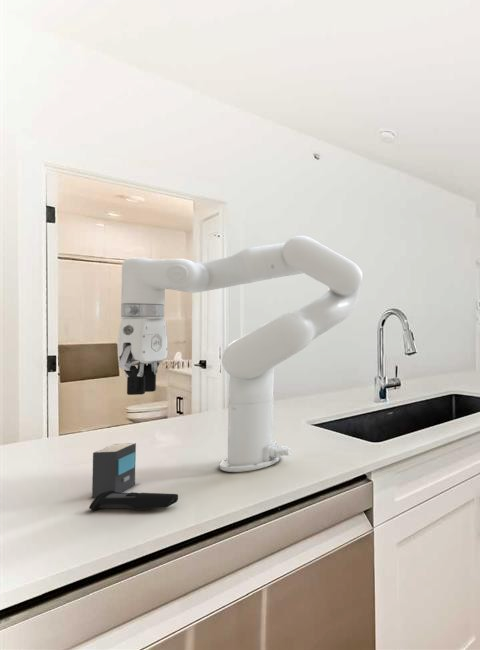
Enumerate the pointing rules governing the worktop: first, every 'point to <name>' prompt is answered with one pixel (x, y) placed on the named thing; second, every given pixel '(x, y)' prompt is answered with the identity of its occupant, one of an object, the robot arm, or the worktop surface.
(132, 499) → the electric trimmer
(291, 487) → the worktop surface
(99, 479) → the dark grey box
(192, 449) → the worktop surface
